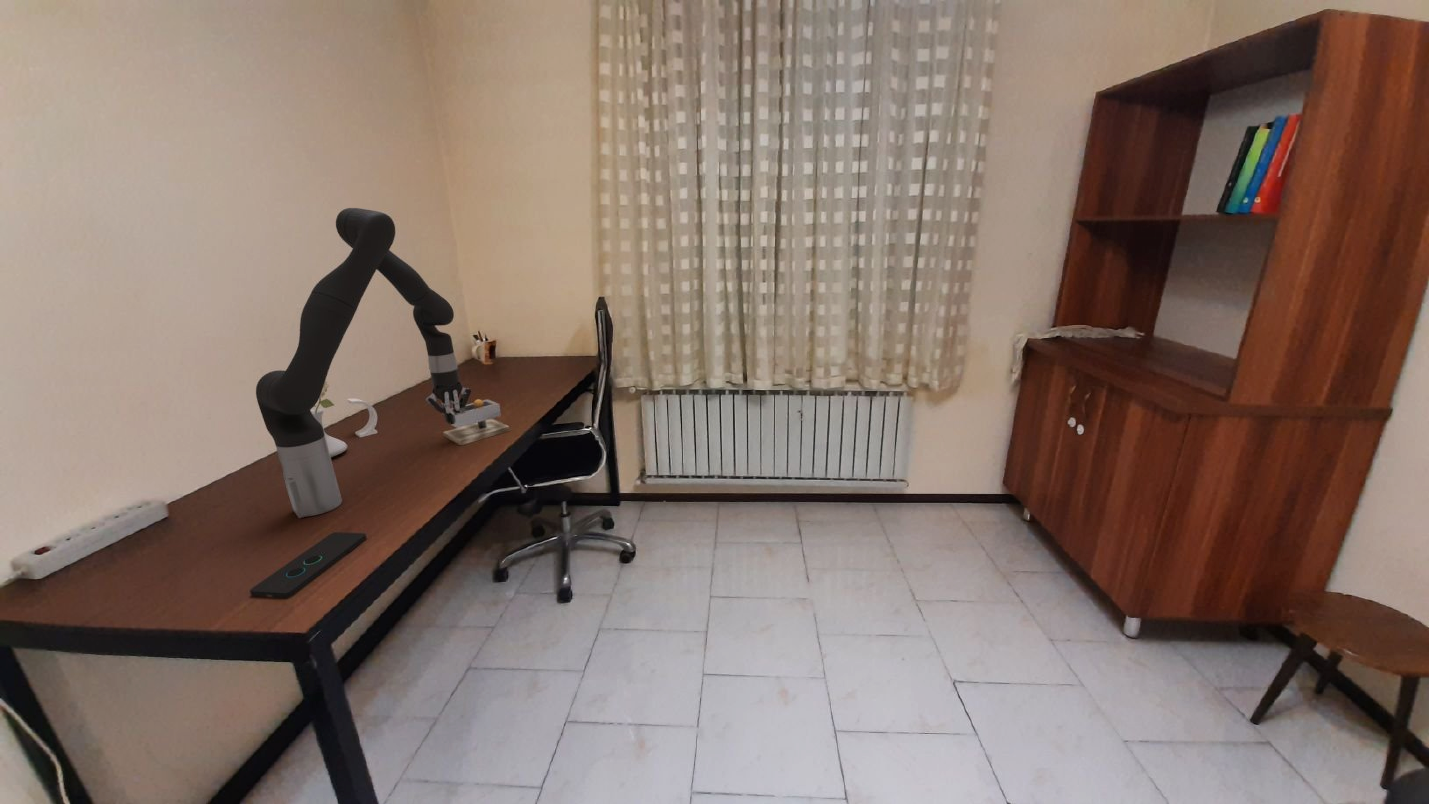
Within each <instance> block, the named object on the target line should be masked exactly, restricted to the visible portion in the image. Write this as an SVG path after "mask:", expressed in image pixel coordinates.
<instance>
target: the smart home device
mask: <svg viewBox="0 0 1429 804" xmlns="http://www.w3.org/2000/svg"><path fill="white" fill-rule="evenodd" d="M365 541H367V534H366V533H365V532H363V533H362V532H361V533H359V532H338V531H336V532H332V533H330V534H329V535H327V536H325V537H324V538H323V539H321V540H320V541H318V542H317V543H315V544H314V545H312V546H311V547H309V548H308V549H306V550H305V551H304V552H302V553H301V554H299V555H298V556H296V557H295V558H293V559H292V560H290V561H289V562H288V563H287V564H285V565H283V566H282V567H280V568H279V569H277V570H276V571H275V572H273V573H272V574H270V575H268V577H266V578H264V579H263V580H261V581H260V582H259V583H257V584H256V585H254V586H253V587H251V589H249V593H250V596H251V597H253V598H254V597H259V598H272V599H273V598H275V599H276V598H278V599H289V598H291V597H293V596H295V595H297V594H298V593H299V592H300V591H301V590H303V589H304V588H305V587H306V586H308V585H309V584H310V583H311V582H313V581H315V579H317V578H318V577H320V576H321V575H323V573H325V572H326V571H327V570H328V569H329V570H330V568H331V567H333V566H334V565H335V564H336V563H338V562H339V561H341V560H342V559H343V558H345V557H346V556H348V554H349V553H351V552H353V550H355V549H356V548H357V547H359V546H360V545H362V544H363V543H364V542H365Z"/></svg>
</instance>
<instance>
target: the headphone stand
mask: <svg viewBox="0 0 1429 804" xmlns="http://www.w3.org/2000/svg"><path fill="white" fill-rule="evenodd" d="M346 399H347V402H348V403H349V404H352V405H357V404H358V405H362V406H363V405H364V407H366V409H367V411H368V412H369V413H368V415H369V418H368V421H367V423H366V425H364V427H363V428H361V429H359V430H357V431H355V433H354V434H355V436H357V437H359V438H364V437H367V436H371V435H375V434H378V430H377V429H375V427H376V426H377V423H378V414H377V410H376V409H375V408H374V407H373V406H372V405H371V404H369V403H367V402H366V401H364V400H362V399H359V398H346Z"/></svg>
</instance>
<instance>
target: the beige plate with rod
mask: <svg viewBox="0 0 1429 804" xmlns="http://www.w3.org/2000/svg"><path fill="white" fill-rule="evenodd" d="M473 403H474V406H475V409H476V408H480V407H483V400H482V399H479V398H478V399H475V400H474V402H473ZM508 432H511V430H510V426H509V425H507V424H504V423H503V422H501V421H499V420H497V419H495V418H492V419H488V420H484V421H481V422H477V423H473V424H470V425H466V426H462V427H459V428H456V427H455V428H453V429H450V430H446V431H443V432H442V433H443V437H445V438H446V439H448V440H450V441H451V442H453V443H455V444H457V445H459V446H463V445H467V444H469V443H473V442H477V441H480V440H483V439H486V438H491V437H494V436H497V435H501V434H504V433H508Z"/></svg>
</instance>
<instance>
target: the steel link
mask: <svg viewBox="0 0 1429 804" xmlns="http://www.w3.org/2000/svg"><path fill="white" fill-rule="evenodd" d="M482 401H483V407H480V408H476V409H475V406H474V402H472V403H469V404H467V403H466V406H465V407H464V408H461V409H460V413H456V412H454V411H453V407H451V408H450V413H451V417H452V422H453V424H451V426H452V427H455V429H456V428H459V427H463V426H467V425H470V424H474V423H478V422H481V421H484V420H489V419H495V418H498V417H501V416H502V414H501V405H500V403H497V402H495V401H493V400H490V399H483V400H482Z"/></svg>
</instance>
